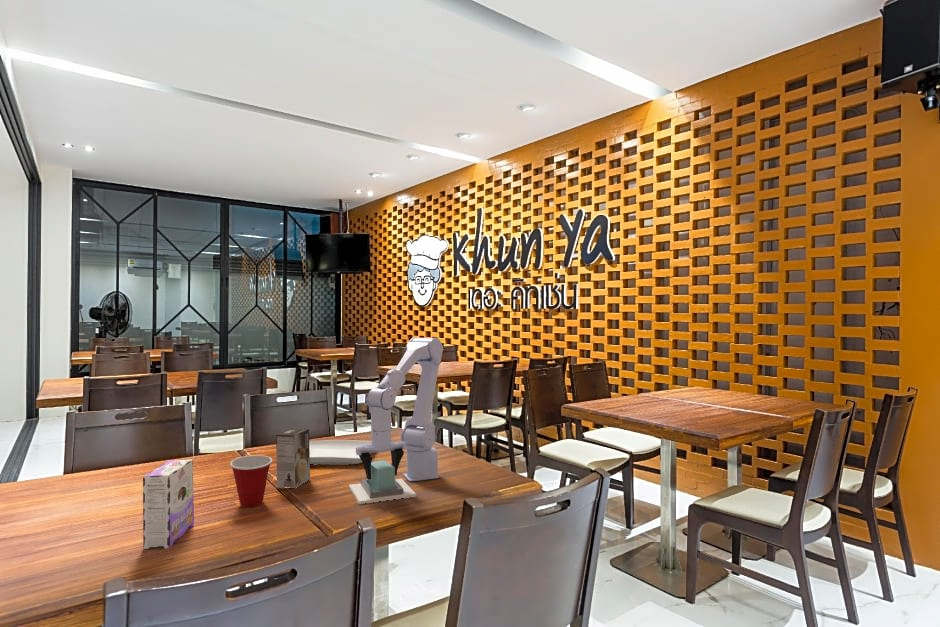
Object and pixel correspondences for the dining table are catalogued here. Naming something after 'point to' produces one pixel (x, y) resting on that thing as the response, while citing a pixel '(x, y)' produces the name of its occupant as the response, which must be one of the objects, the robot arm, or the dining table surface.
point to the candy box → (167, 504)
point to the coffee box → (292, 458)
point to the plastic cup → (251, 478)
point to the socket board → (380, 492)
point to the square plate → (335, 451)
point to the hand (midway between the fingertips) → (381, 476)
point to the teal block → (382, 476)
